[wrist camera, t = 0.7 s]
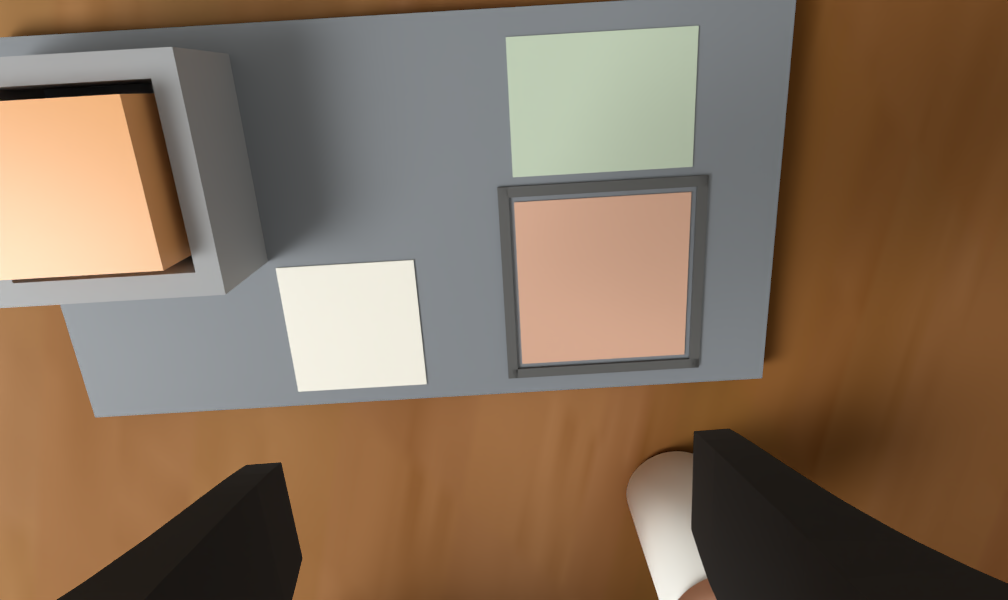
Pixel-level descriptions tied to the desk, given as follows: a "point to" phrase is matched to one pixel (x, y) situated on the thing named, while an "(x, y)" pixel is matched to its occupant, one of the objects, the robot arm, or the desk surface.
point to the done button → (86, 188)
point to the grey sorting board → (437, 202)
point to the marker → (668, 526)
